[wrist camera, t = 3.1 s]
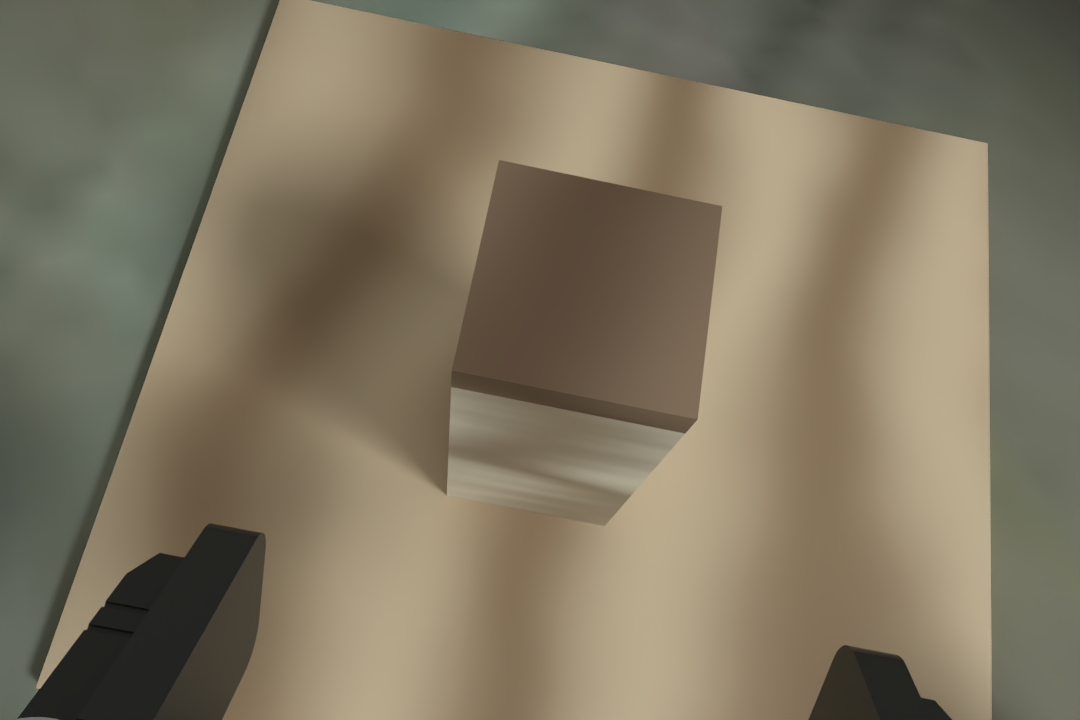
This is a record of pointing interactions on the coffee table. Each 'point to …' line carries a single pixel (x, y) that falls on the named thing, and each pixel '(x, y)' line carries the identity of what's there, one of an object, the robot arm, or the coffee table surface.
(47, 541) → the coffee table surface
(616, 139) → the wooden board
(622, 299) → the white block
